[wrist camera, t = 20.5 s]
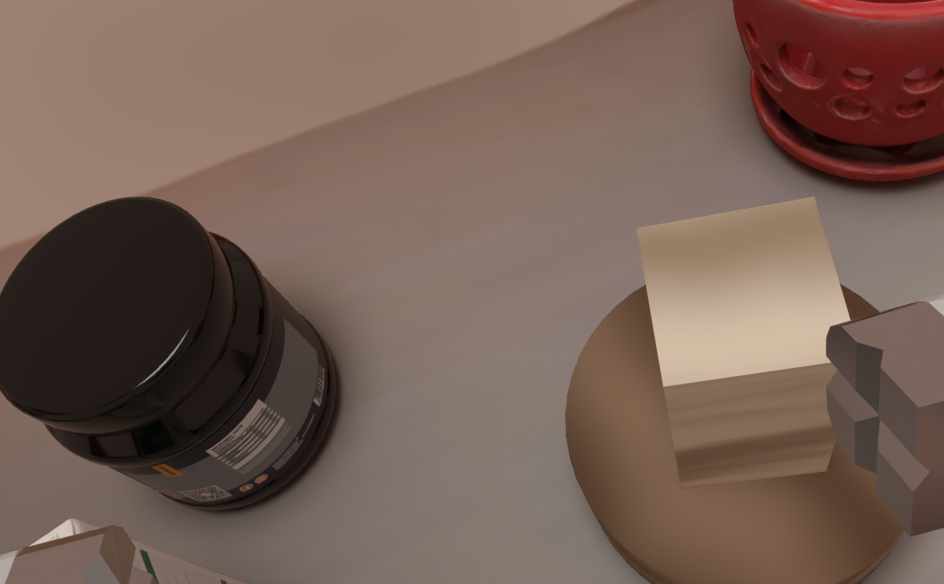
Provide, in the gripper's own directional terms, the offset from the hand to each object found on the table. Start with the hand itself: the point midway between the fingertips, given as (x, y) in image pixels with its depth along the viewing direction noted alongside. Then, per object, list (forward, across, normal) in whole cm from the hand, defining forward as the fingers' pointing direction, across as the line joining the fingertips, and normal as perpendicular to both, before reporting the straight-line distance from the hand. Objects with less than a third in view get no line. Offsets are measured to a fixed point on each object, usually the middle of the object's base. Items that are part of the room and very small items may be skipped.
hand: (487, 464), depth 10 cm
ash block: (+17, -9, +16) cm, 25 cm away
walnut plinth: (+19, -10, +21) cm, 30 cm away
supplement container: (+29, +11, +19) cm, 36 cm away
